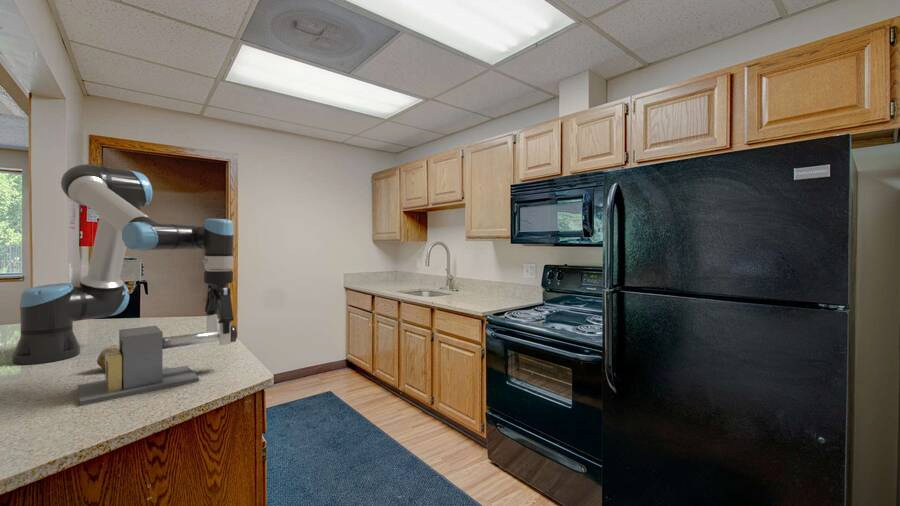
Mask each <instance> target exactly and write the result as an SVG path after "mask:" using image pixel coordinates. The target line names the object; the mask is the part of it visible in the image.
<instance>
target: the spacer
mask: <svg viewBox="0 0 900 506" xmlns="http://www.w3.org/2000/svg"><path fill="white" fill-rule="evenodd" d="M104 349H105V348H104ZM104 370H105V371H104V372H105V374H104V375H105V376H104V380H105V383H106V386H107V390H108V393H109V392H114V391H120V390H122V355H121V353H120V351H119V349H118V348H110V349H105V369H104Z"/></svg>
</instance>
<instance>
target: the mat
mask: <svg viewBox="0 0 900 506" xmlns="http://www.w3.org/2000/svg"><path fill="white" fill-rule="evenodd" d="M197 382H200V377H199V376H198V375H197V374H196V373H195V372H194V371H193V370H192V369H191V367H190V366H188V365H182V366H176V367H172V368H171V367H170V368H168V369H167V368H164V369H162V383H158V384H153V385H148V386H143V387H138V388H133V389H128V390H123V388H122V390H120V391H114V392H109V393H108V390H107V386H106V383H105V379H104V380H98V381H93V382H88V383H82V384H77V391H78V400H79V406H86V405H91V404H95V403H101V402H105V401H110V400H115V399H119V398H124V397H129V396H133V395H139V394H143V393H149V392H153V391H158V390H163V389H168V388H173V387H177V386H182V385H187V384H192V383H193V384H194V383H197Z"/></svg>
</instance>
